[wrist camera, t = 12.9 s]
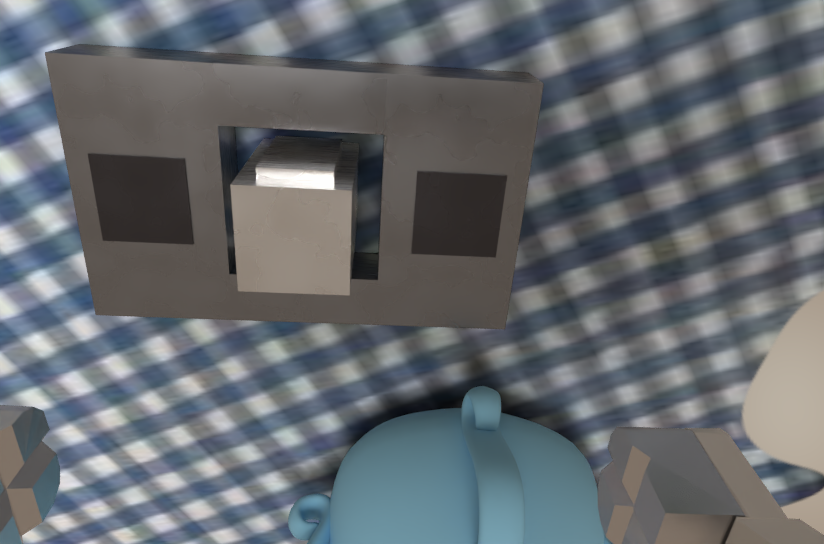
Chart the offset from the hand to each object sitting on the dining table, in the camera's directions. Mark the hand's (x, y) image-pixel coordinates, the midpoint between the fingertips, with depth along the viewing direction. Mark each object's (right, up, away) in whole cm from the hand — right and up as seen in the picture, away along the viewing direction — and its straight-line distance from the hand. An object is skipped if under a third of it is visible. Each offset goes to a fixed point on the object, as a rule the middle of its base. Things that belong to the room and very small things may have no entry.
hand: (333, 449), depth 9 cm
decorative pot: (+4, -10, +30) cm, 32 cm away
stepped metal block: (-4, +7, +21) cm, 22 cm away
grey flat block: (-4, +7, +21) cm, 22 cm away
